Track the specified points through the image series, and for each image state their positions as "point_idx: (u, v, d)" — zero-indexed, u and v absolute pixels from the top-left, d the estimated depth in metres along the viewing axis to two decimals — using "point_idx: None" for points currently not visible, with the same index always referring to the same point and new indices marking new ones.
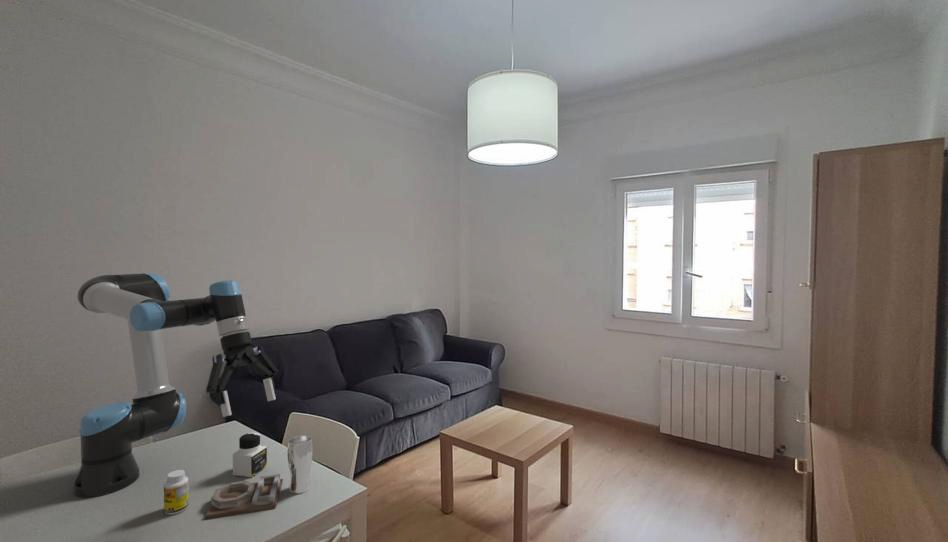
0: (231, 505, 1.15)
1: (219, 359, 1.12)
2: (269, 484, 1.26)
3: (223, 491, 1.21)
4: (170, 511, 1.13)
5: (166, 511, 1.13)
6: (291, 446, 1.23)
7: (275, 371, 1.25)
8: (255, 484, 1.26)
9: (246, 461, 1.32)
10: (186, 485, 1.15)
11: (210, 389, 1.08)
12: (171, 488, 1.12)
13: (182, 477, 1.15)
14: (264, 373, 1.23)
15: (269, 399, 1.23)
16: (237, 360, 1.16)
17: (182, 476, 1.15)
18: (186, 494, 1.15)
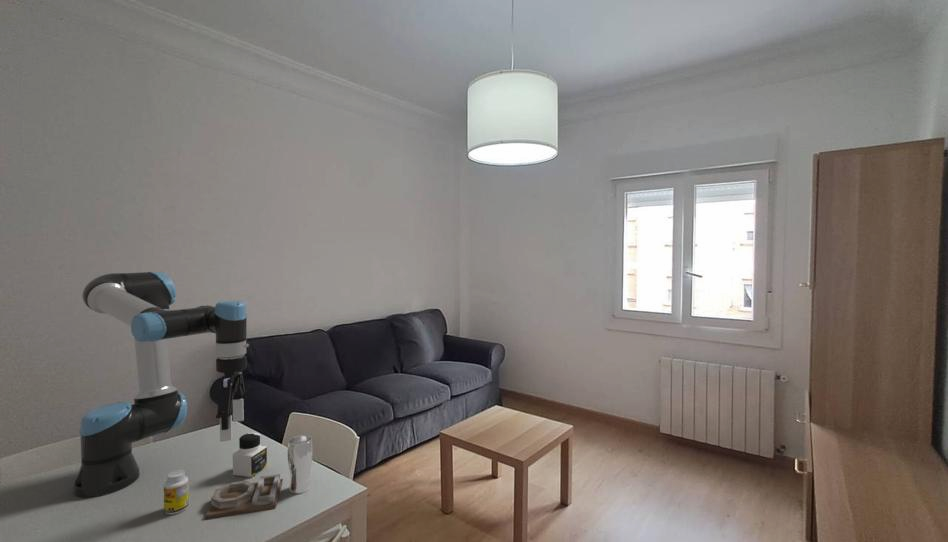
0: (231, 505, 1.15)
1: (230, 384, 1.12)
2: (269, 484, 1.26)
3: (223, 491, 1.21)
4: (170, 511, 1.13)
5: (166, 511, 1.13)
6: (291, 446, 1.23)
7: (244, 392, 1.27)
8: (255, 484, 1.26)
9: (246, 461, 1.32)
10: (186, 485, 1.15)
11: (225, 415, 1.09)
12: (171, 488, 1.12)
13: (182, 477, 1.15)
14: (238, 394, 1.24)
15: (236, 420, 1.25)
16: (236, 384, 1.17)
17: (182, 476, 1.15)
18: (186, 494, 1.15)
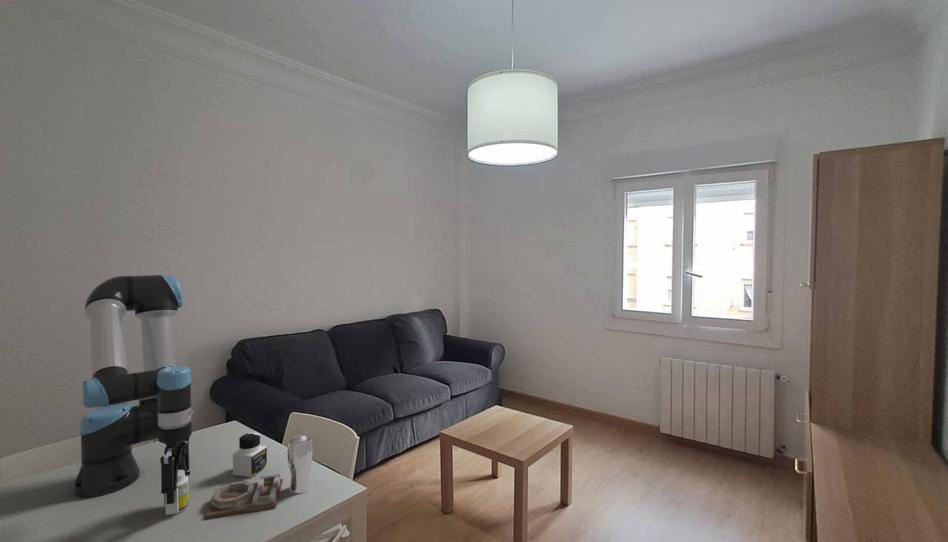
0: (231, 505, 1.15)
1: (172, 461, 1.09)
2: (269, 484, 1.26)
3: (223, 491, 1.21)
4: None
5: None
6: (291, 446, 1.23)
7: (188, 467, 1.21)
8: (255, 484, 1.26)
9: (246, 461, 1.32)
10: (186, 485, 1.15)
11: (169, 490, 1.09)
12: None
13: (182, 477, 1.15)
14: None
15: None
16: (180, 453, 1.14)
17: (182, 476, 1.15)
18: (186, 494, 1.15)
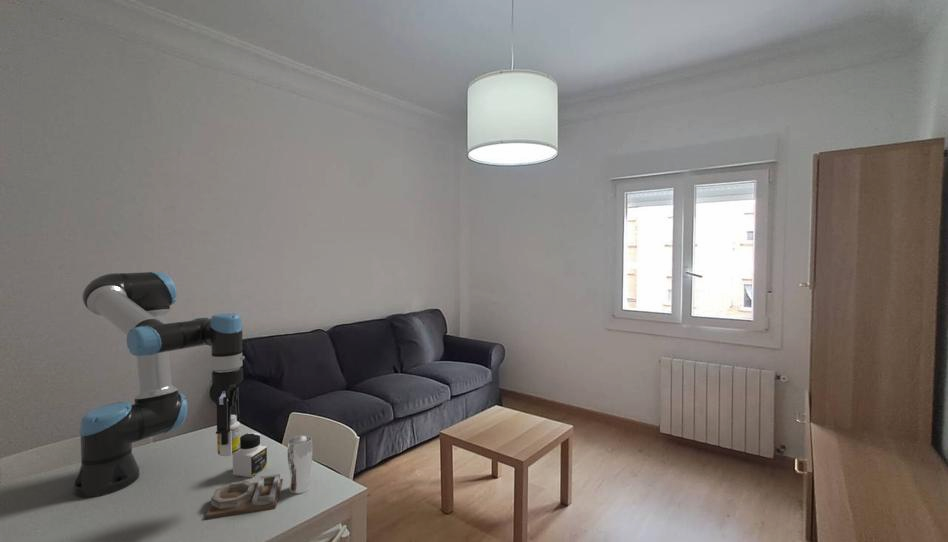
0: (231, 505, 1.15)
1: (226, 402, 1.12)
2: (269, 484, 1.26)
3: (223, 491, 1.21)
4: None
5: None
6: (291, 446, 1.23)
7: (238, 414, 1.24)
8: (255, 484, 1.26)
9: (246, 461, 1.32)
10: (238, 428, 1.18)
11: (224, 431, 1.12)
12: None
13: (234, 420, 1.18)
14: None
15: None
16: (233, 397, 1.17)
17: (234, 419, 1.18)
18: (238, 437, 1.18)
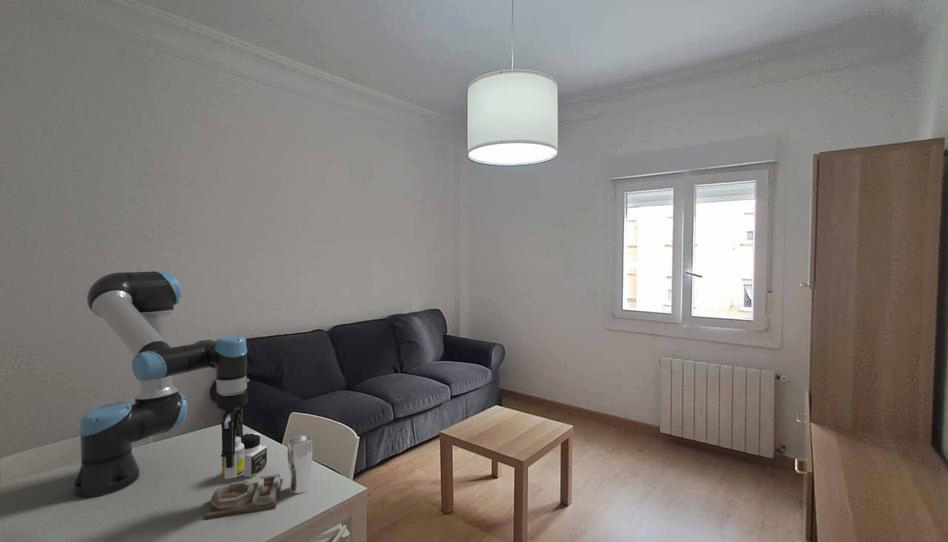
0: (231, 505, 1.15)
1: (231, 425, 1.13)
2: (269, 484, 1.26)
3: (223, 491, 1.21)
4: None
5: (224, 475, 1.17)
6: (291, 446, 1.23)
7: (242, 435, 1.24)
8: (255, 484, 1.26)
9: (246, 461, 1.32)
10: (243, 451, 1.19)
11: (229, 454, 1.13)
12: None
13: (239, 443, 1.19)
14: None
15: None
16: (238, 420, 1.18)
17: (239, 442, 1.19)
18: (243, 459, 1.19)
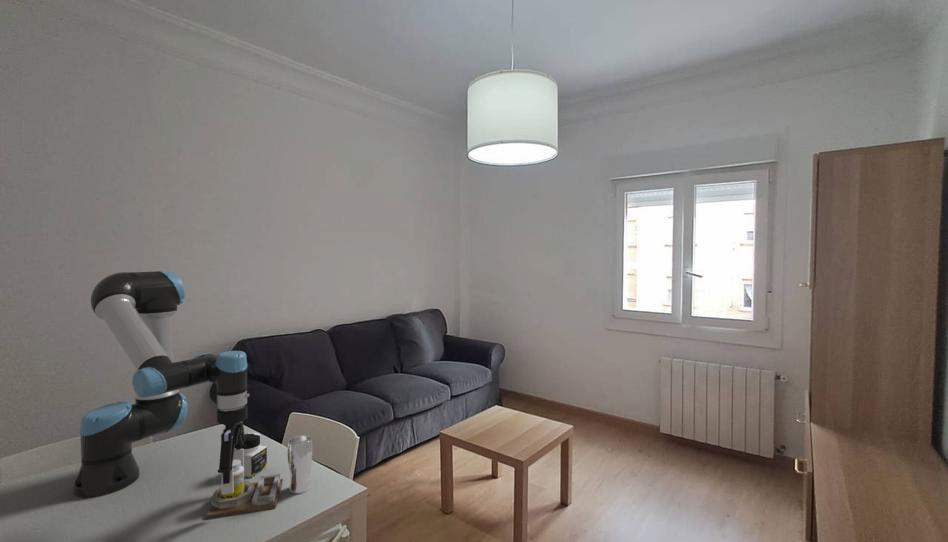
0: (231, 505, 1.15)
1: (231, 438, 1.13)
2: (269, 484, 1.26)
3: None
4: None
5: None
6: (291, 446, 1.23)
7: (244, 441, 1.27)
8: (255, 484, 1.26)
9: (246, 461, 1.32)
10: (242, 474, 1.19)
11: (226, 470, 1.10)
12: None
13: (239, 466, 1.19)
14: (239, 444, 1.24)
15: None
16: (237, 435, 1.17)
17: (239, 465, 1.19)
18: (243, 482, 1.19)
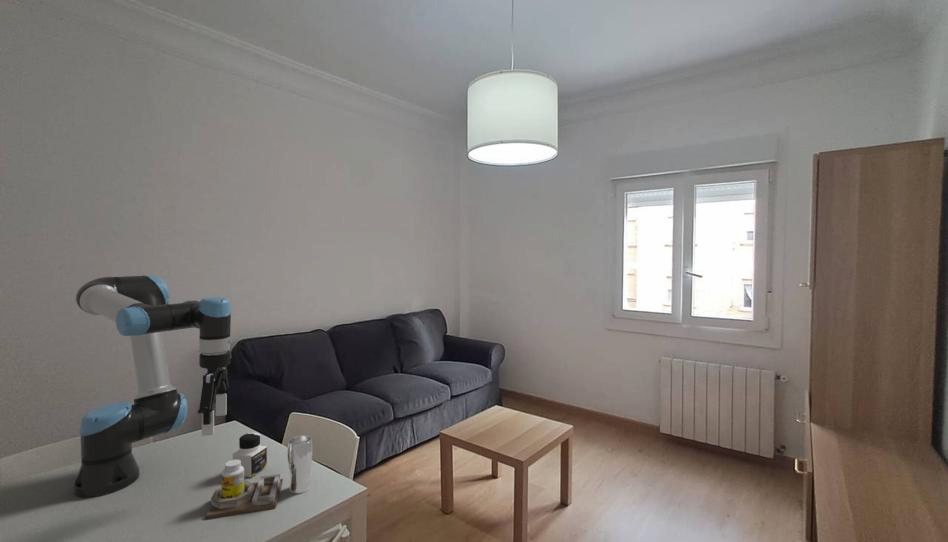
0: (231, 505, 1.15)
1: (213, 380, 1.14)
2: (269, 484, 1.26)
3: None
4: None
5: None
6: (291, 446, 1.23)
7: (227, 387, 1.29)
8: (255, 484, 1.26)
9: (246, 461, 1.32)
10: (242, 474, 1.19)
11: (207, 410, 1.11)
12: (229, 477, 1.16)
13: (239, 466, 1.19)
14: (222, 389, 1.26)
15: (219, 414, 1.26)
16: (219, 379, 1.18)
17: (239, 465, 1.19)
18: (243, 482, 1.19)
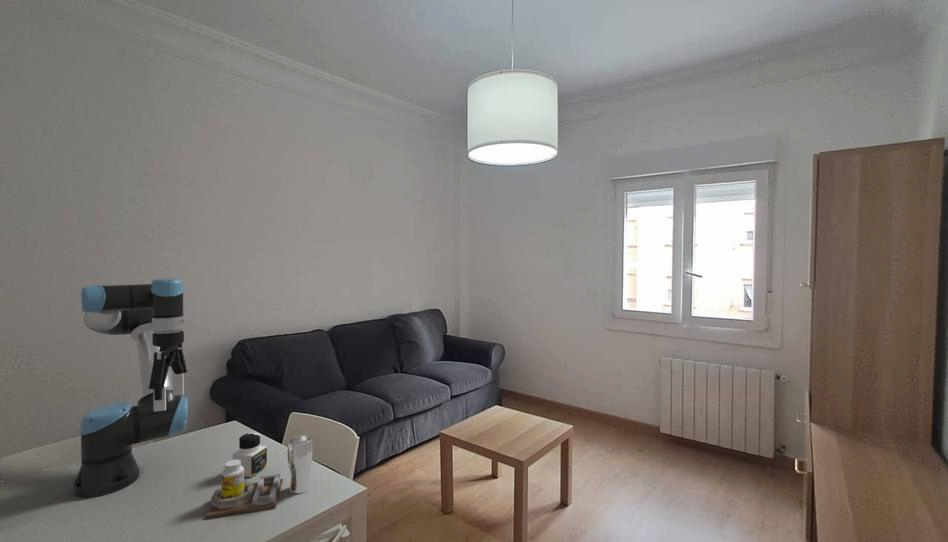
0: (231, 505, 1.15)
1: (164, 357, 1.17)
2: (269, 484, 1.26)
3: None
4: None
5: None
6: (291, 446, 1.23)
7: (185, 367, 1.32)
8: (255, 484, 1.26)
9: (246, 461, 1.32)
10: (242, 474, 1.19)
11: (157, 386, 1.14)
12: (229, 477, 1.16)
13: (239, 466, 1.19)
14: (178, 369, 1.29)
15: (176, 394, 1.29)
16: (172, 358, 1.21)
17: (239, 465, 1.19)
18: (243, 482, 1.19)
